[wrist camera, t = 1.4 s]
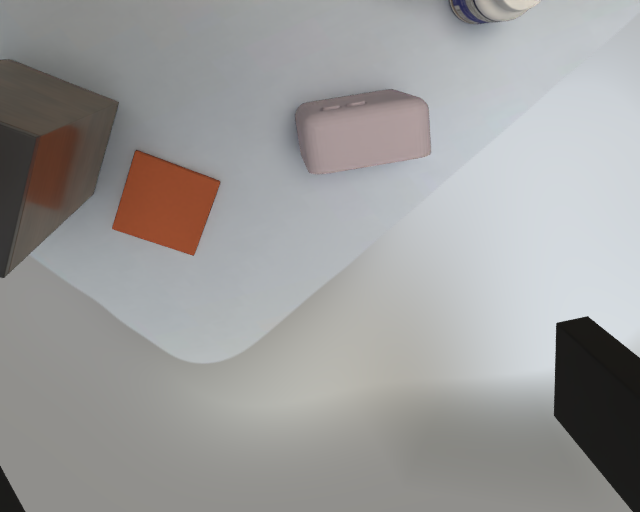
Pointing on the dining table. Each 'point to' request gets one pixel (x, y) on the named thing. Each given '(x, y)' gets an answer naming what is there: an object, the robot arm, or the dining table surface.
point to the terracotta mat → (165, 203)
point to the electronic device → (362, 131)
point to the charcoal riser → (45, 155)
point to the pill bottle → (490, 10)
